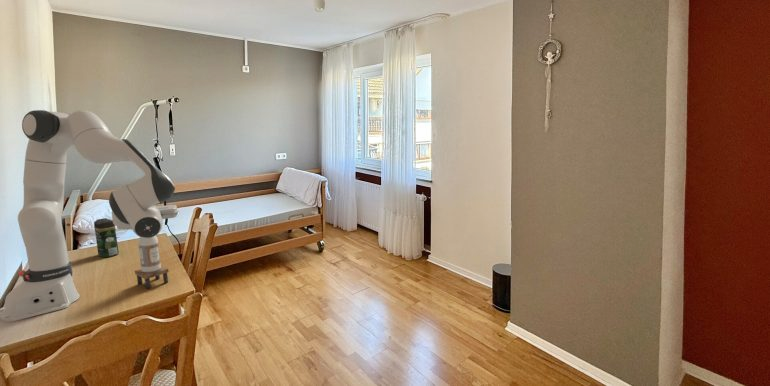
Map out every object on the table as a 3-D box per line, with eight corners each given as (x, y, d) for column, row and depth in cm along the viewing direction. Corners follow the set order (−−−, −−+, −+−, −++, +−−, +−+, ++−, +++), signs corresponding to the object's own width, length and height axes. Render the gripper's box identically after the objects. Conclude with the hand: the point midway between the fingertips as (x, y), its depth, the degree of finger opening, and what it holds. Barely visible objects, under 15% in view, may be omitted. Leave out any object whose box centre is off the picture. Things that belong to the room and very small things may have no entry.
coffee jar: (95, 254, 194) (91, 219, 190) (114, 250, 200) (109, 216, 197) (102, 259, 188) (97, 222, 185) (121, 254, 194) (116, 219, 191)
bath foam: (149, 274, 154) (143, 226, 151) (137, 271, 157) (132, 224, 154) (164, 268, 161) (160, 222, 157) (153, 265, 163) (148, 220, 160)
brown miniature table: (146, 289, 154) (145, 275, 153) (136, 284, 159) (134, 270, 158) (169, 282, 161) (168, 268, 160) (159, 277, 166) (157, 264, 165)
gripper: (179, 205, 138) (175, 198, 149) (109, 211, 127) (111, 204, 138) (181, 222, 139) (177, 214, 150) (112, 230, 128) (113, 221, 139)
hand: (145, 209), depth 144 cm, fingers open, 8 cm apart
